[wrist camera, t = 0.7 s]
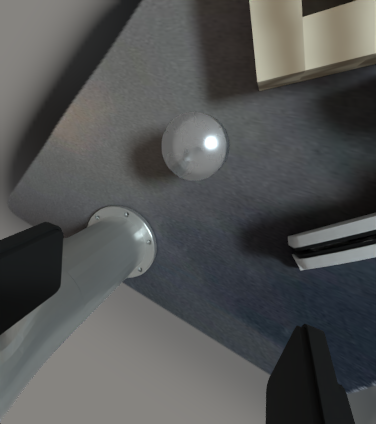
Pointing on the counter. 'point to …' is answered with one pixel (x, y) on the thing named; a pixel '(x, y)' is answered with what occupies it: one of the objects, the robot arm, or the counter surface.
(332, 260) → the white curved block
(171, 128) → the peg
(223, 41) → the counter surface
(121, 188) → the counter surface
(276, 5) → the block
